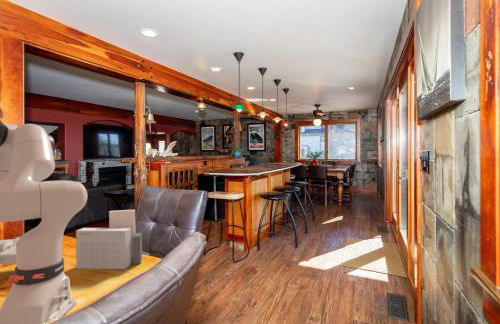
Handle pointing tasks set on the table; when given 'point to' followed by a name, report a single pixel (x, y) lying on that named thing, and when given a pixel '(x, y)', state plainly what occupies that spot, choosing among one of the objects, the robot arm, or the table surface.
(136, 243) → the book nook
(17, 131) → the robot arm
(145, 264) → the table surface
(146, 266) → the table surface
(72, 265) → the table surface
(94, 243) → the skincare box
